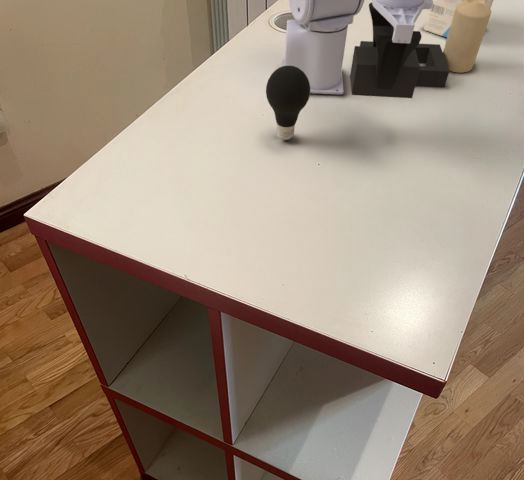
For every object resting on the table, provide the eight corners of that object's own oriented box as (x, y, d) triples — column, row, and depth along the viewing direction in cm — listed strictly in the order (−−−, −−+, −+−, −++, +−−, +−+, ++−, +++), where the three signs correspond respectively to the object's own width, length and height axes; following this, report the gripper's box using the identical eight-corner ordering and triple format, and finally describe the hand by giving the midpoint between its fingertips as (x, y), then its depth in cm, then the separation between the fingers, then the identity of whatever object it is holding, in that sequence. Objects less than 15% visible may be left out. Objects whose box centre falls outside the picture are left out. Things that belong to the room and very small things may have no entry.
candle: (473, 74, 86) (496, 7, 78) (439, 71, 87) (459, 4, 79) (471, 59, 89) (494, -7, 81) (439, 56, 90) (458, -10, 82)
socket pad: (361, 83, 84) (364, 67, 82) (358, 56, 89) (360, 40, 87) (444, 87, 84) (449, 71, 82) (435, 59, 89) (440, 44, 87)
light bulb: (281, 123, 76) (285, 52, 68) (313, 138, 74) (321, 67, 66) (256, 140, 73) (257, 68, 65) (288, 156, 71) (293, 84, 63)
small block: (351, 95, 68) (356, 64, 65) (349, 76, 71) (354, 45, 68) (412, 98, 68) (420, 67, 65) (407, 79, 71) (415, 48, 67)
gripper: (455, -21, 53) (419, 107, 64) (435, -67, 61) (406, 52, 72) (386, -24, 53) (362, 104, 64) (376, -70, 61) (356, 50, 72)
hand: (382, 77), depth 68 cm, fingers closed on small block, 5 cm apart
